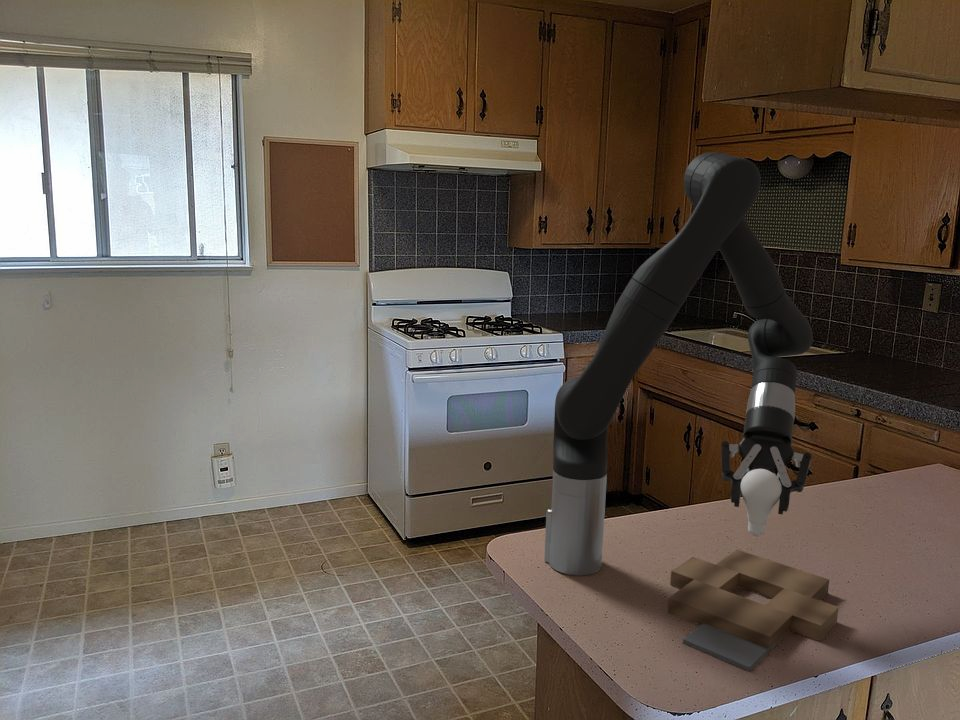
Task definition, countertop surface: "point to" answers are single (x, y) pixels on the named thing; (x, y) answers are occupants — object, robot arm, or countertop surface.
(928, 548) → the countertop surface
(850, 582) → the countertop surface
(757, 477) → the lightbulb
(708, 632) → the slate mat
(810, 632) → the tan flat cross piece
